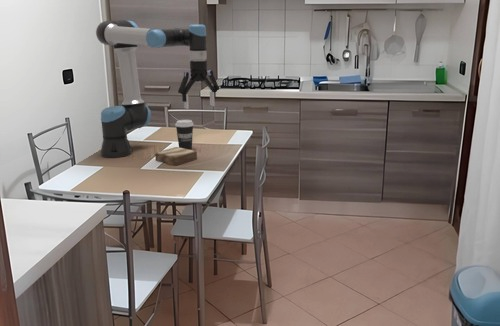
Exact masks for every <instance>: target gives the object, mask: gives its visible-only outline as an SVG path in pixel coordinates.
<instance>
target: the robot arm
mask: <svg viewBox="0 0 500 326" xmlns="http://www.w3.org/2000/svg"><path fill="white" fill-rule="evenodd" d="M95 34H96V38H97V40H98V41H99V42H100V43H101V44H103V45H105V46H113V50H114V51H115V52H116V53H117V60H118V66H119V73H120V80H121V89H122V94H123V101H122V103H121V105H114V106H113V105H111V106H109V107H108V106H107V107H105V108H104V109H102V110H101V112H100V122H101V131H102V132H101V133H102V143H101V148H100V156H101V157H104V158H121V157H126V156H129V155H131V154H132V152H133V150H132V147H131V144H130V141H129V138H128V131H132V130H135V129H141V128H143V127H146V126H148V124H149V123H150V122H151V117H152V113H151V112H152V111H151V109H150V108H149V106H148V105H147V104H145V103H146V102H145V100H144V99H142V96H141V88H140V80H139V74H138V73H139V72H138V65H137V59H136V58H137V57H136V51H137V49H138V46H146V47H150V48H155V49H157V48H158V49H159V48H167V47H168V48H169V47H170V48H171V47H189V60H190V61H189V68H190V72H189V71H184V72H183V77H182V80H181V83H180V84H179V88H178V89H177V90H178V91H177V92H178V94H181V95H182V96H181V97H182V102H183V108H184V109H185V110H189V107H190V106H189V105H190V104H189V94H188V92H189V91H190V89H192V86H193V85H194V83H197V82H204V84H205V85H206V86H207V87H208V88H209V105H210V106H211V107H215V99H216V95H217V92H218V91H219V90H220V87H219V84H218V82H217V80H216V79H215V75H214V71H213V70H210V69H209V70H207V69H208V63H207V62H208V61H207V57H208V56H207V55H208V54H207V52H208V51H207V28H206V25H205V24H189V25H188V28H178V27H177V28H176V27H175V28H168V29H167V28H163V29H161V28H148V27H147V28H145V27H144V28H143V27H139V26H138V25H137V24H136V23H135V21H132V20H126V19H122V20H105V21H101V22H100V23H99V24H98V26H97V27H96V30H95ZM207 75H208V77H209V78H208V77H207Z"/></svg>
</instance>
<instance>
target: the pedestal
mask: <svg viewBox="0 0 500 326" xmlns="http://www.w3.org/2000/svg"><path fill="white" fill-rule="evenodd" d="M154 156H155V161H157V162H161V163H164V164H168V165H172V166H179V165H183V164H186V163H188V162H192V161H194V160H198V153H197V151H195V150H193V149H192V150H188V149H184V148H179V146H176V147H171V148H168V149H164V150H161V151H156V153H155V155H154Z"/></svg>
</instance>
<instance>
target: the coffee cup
mask: <svg viewBox="0 0 500 326" xmlns="http://www.w3.org/2000/svg"><path fill="white" fill-rule="evenodd" d="M194 124H195V123H194V122H193V121H192V119H179V120H177V121H176V123H175V125H174V126H175V128H176V136H177V143H178V147H179V148H184V149H188V150H193V137H194V136H193V133H194V132H193V131H194V126H195V125H194Z"/></svg>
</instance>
